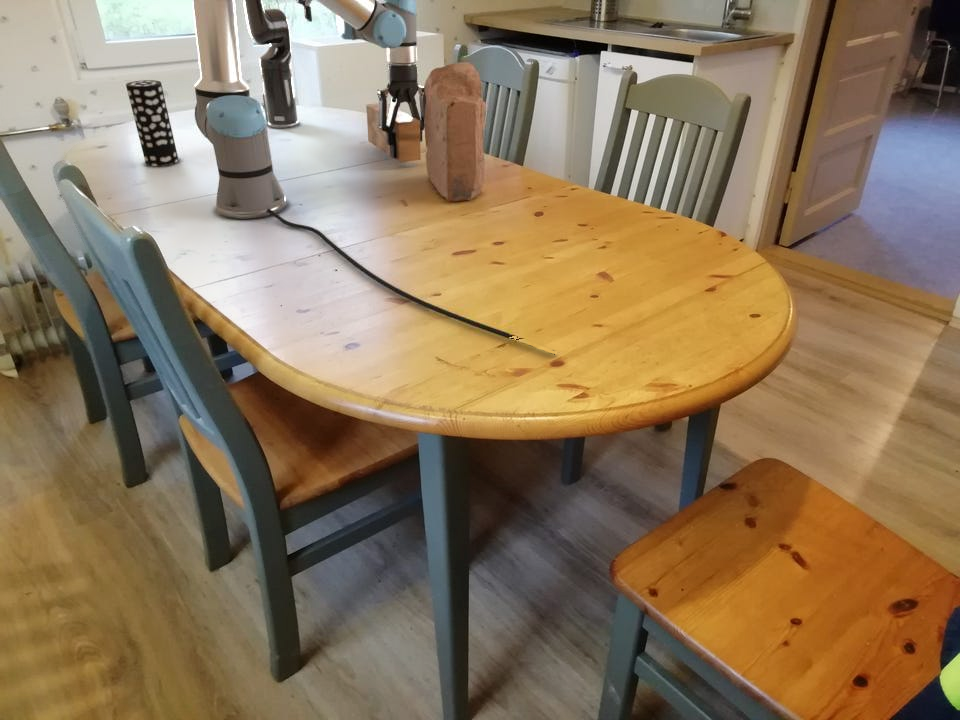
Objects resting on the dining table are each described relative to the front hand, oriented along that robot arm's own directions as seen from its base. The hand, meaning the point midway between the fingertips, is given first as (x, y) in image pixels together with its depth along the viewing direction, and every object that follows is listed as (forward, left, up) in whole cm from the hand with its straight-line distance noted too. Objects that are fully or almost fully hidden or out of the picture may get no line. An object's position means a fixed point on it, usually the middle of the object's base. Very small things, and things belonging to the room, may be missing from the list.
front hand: (405, 155), depth 185 cm
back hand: (+34, +8, +29) cm, 46 cm away
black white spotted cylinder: (+32, +58, +7) cm, 66 cm away
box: (+8, 0, -1) cm, 8 cm away
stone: (-23, -4, -3) cm, 23 cm away
